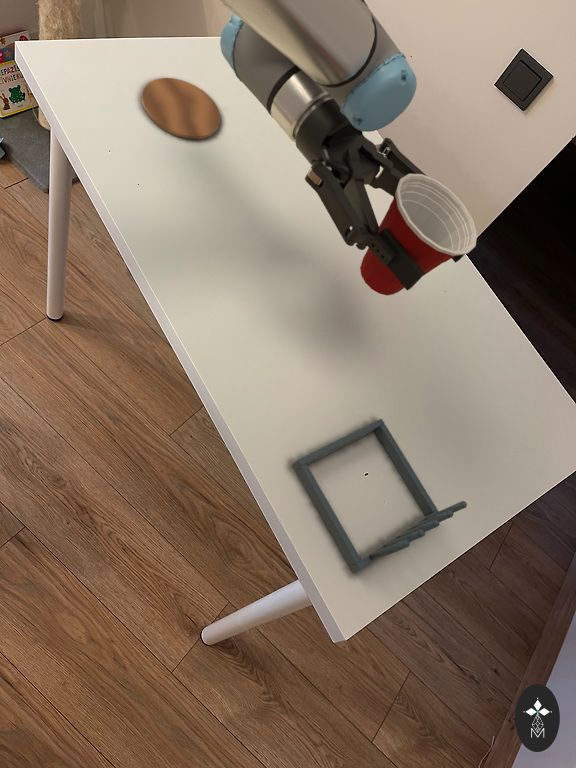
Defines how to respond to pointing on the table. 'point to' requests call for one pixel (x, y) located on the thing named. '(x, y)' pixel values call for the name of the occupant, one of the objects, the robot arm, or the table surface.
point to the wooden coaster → (180, 108)
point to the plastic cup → (421, 230)
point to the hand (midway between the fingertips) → (441, 267)
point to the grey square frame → (410, 479)
